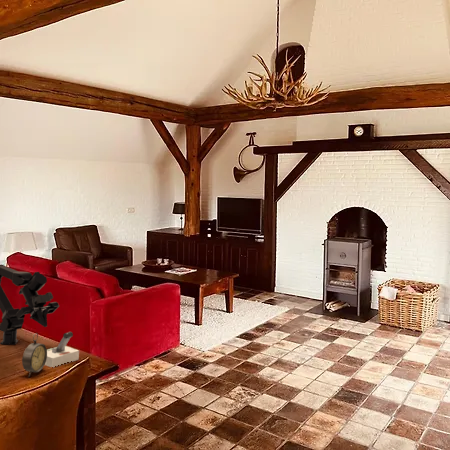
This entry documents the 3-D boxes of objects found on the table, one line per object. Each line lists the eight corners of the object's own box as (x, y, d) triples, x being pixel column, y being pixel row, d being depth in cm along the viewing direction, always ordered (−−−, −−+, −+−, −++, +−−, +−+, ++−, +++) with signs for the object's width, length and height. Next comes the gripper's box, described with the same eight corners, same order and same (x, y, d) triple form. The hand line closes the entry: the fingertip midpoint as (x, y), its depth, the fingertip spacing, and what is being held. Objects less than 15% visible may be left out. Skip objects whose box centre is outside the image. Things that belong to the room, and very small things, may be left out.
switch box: (36, 361, 200) (37, 348, 199) (62, 354, 212) (63, 341, 211) (52, 367, 195) (53, 354, 194) (78, 359, 207) (79, 346, 206)
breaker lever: (54, 349, 202) (64, 332, 199) (60, 348, 205) (70, 330, 201) (57, 353, 201) (67, 335, 198) (63, 351, 204) (73, 334, 201)
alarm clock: (30, 379, 181) (33, 337, 180) (18, 377, 182) (21, 335, 182) (46, 369, 192) (49, 330, 191) (34, 367, 193) (37, 328, 192)
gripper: (22, 289, 201) (37, 320, 196) (58, 284, 217) (72, 313, 212) (9, 303, 205) (23, 334, 200) (45, 298, 221) (59, 326, 216)
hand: (46, 326), depth 207 cm, fingers closed
